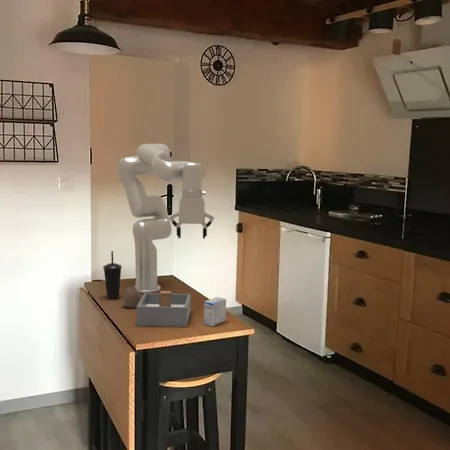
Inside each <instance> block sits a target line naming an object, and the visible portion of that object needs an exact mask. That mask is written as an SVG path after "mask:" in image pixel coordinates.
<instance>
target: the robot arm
mask: <svg viewBox="0 0 450 450" xmlns="http://www.w3.org/2000/svg"><path fill="white" fill-rule="evenodd" d="M117 173H118V175H117V176H118V178H119V181H120V183H121V184H122V186H123V188H124V191H125V195H126V198H127V202H128V206H129V209H130V212H131V214H132V216H133V217H134V218H139V220H136V222H134V223H133V225H132V236H133V240H134V241H133V242H134V249H135V251H134V256H135V261H134V262H135V268H134V269H135V284H133V285H134V286H135V288H136V289H137V290H138V292H139V294H141V293H143V294H144V293H156V292H160V291H161V289H162V288H161V285H160V284H158V250H157V247H156V246H155V244H154V242H153V241H155V240H164V239H168V238H170V236H171V235H172V225H173V226H174V227H175V228H176V236H177V238H178V239H181V238H182V236H181V235H182V234H181V233H182V231H181V230H182V227H181V226H182V225H183V224H185V225H186V224H189V225H193V224H194V225H201V226H202V227H203V228H202V239H203V240H204V239H206V237H207V235H208V228H209V227H210V226H211V224H212V223H213V221H214V220H215V219H214V218H215V217H214V216H212V215H210V214H209V213H208V212H206V205H205V198H204V197H202V196H206V191H203V190H202V189H203V188H202V187H203V185H202V184H203V182H202V181H203V180H202V179H203V177H202V176H203V168H202V164H201V163H200V162H191V161H188V160H177V161H176V160H174V161H173V160H172V161H171V151H170V148H169V147H168V146H167V145H166V144H164V143H144V144H141V145H139V146H138V147H137V149H136V154H135V155H131V156H125V157H123V158H121V159H120V160H119V162H118V164H117ZM151 175H154V176H155V177H157V178H159V179H160V180H163V181H168V182H169V181H170V182H171V181H172V182H173V181H181V185H182V186H181V192H182V193H181V196H182V197H180V198H179V206H178V212H176V213H174V214H172V215H169V213H168V209H167V206H166V203H165V200H164V199H163V198H162V197H161V196H160V195H156V194H155V195H148V194H147V192H146V189H145V186H144V184H143V182H142V181H141V180H140V179H139V178H137V176H151ZM151 217H152V218H151ZM177 217H178V223H177V221H176V220H175V218H177ZM140 218H143V219H140ZM206 218H208V219H209V220H208V221H207V223H206V222H205V221H206Z"/></svg>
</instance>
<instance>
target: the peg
mask: <svg viewBox="0 0 450 450" xmlns="http://www.w3.org/2000/svg"><path fill="white" fill-rule="evenodd" d="M158 294H159V307H171V294H172V290H159V293H158Z"/></svg>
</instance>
